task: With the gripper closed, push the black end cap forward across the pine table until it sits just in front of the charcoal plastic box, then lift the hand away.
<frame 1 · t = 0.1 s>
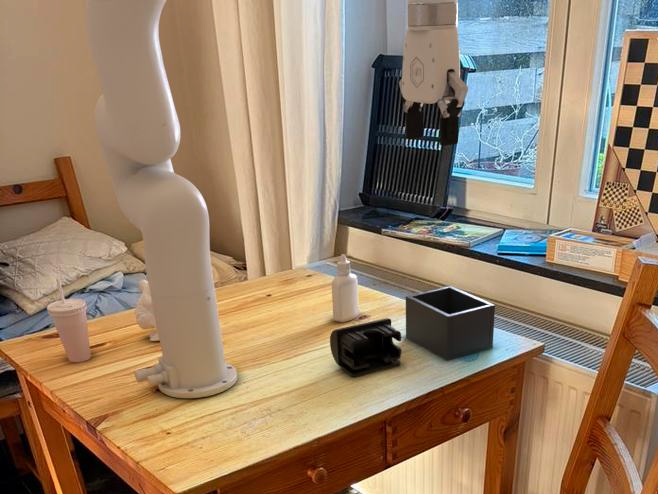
hand: (431, 141, 123), 31 cm above the table, tool pointing down, fingers open, 9 cm apart
box: (448, 342, 131), on the table
end cap: (367, 365, 125), on the table
koala figurine: (161, 338, 139), on the table
smoothie: (80, 359, 132), on the table
eye dropper bottle: (346, 318, 144), on the table
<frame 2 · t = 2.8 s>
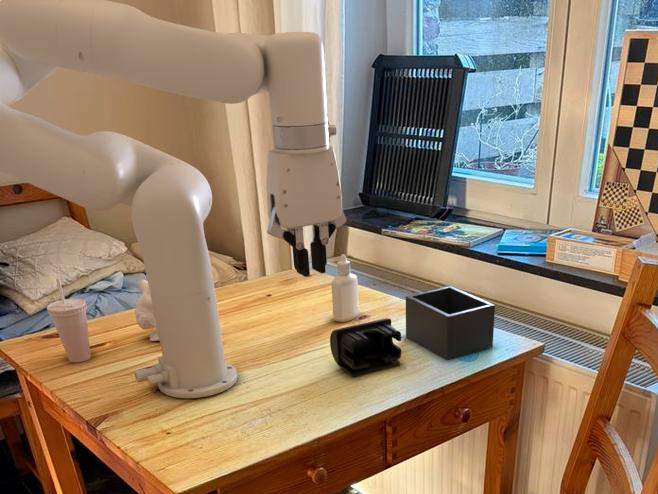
hand: (311, 271, 112), 17 cm above the table, tool pointing down, fingers closed
nothing on the table moved.
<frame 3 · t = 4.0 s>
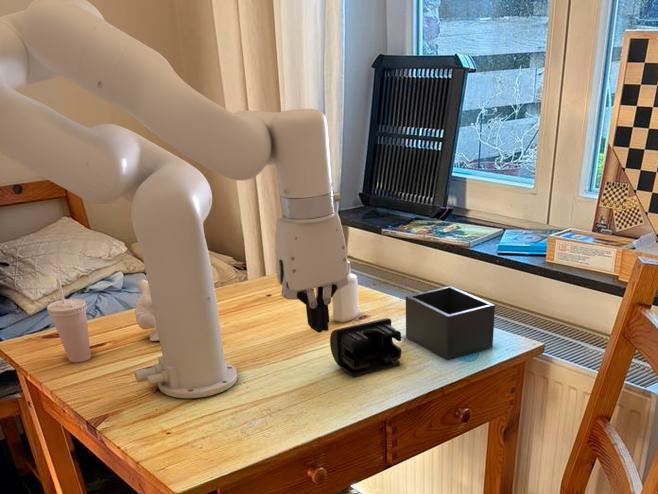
hand: (319, 329, 117), 8 cm above the table, tool pointing down, fingers closed
nothing on the table moved.
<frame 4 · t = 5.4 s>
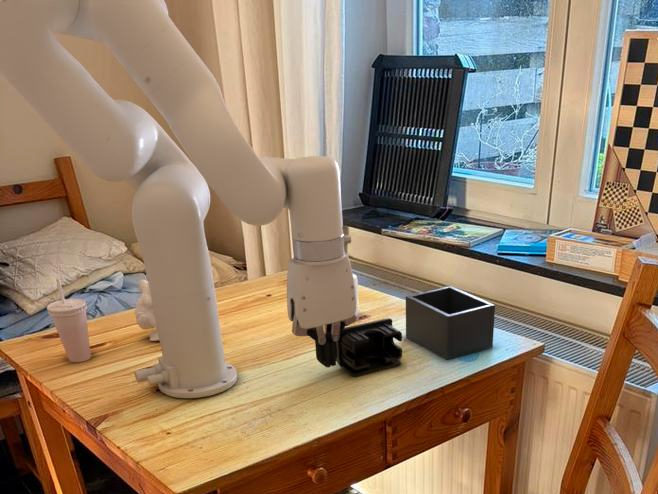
hand: (327, 363, 120), 2 cm above the table, tool pointing down, fingers closed
end cap: (368, 365, 125), on the table, touching gripper
everything else where it was.
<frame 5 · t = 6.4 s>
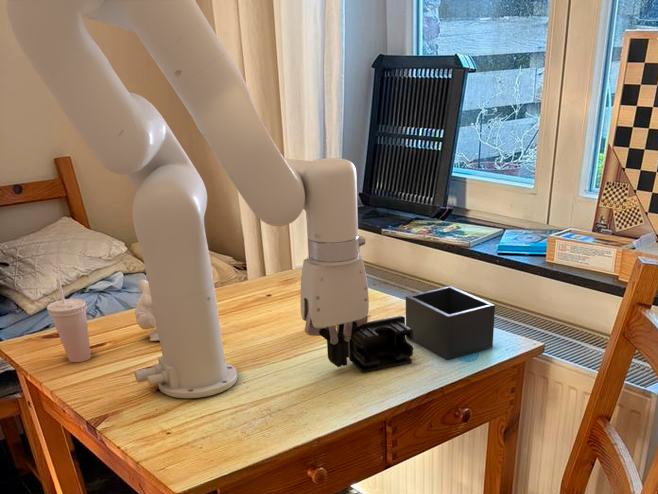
hand: (338, 363, 122), 1 cm above the table, tool pointing down, fingers closed
end cap: (379, 362, 126), on the table, touching gripper
everything else where it was.
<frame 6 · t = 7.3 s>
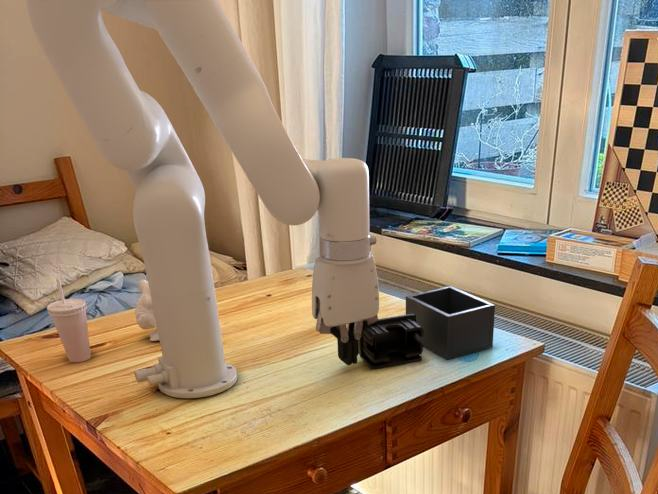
hand: (348, 361, 123), 1 cm above the table, tool pointing down, fingers closed
end cap: (389, 359, 127), on the table, touching gripper
everything else where it was.
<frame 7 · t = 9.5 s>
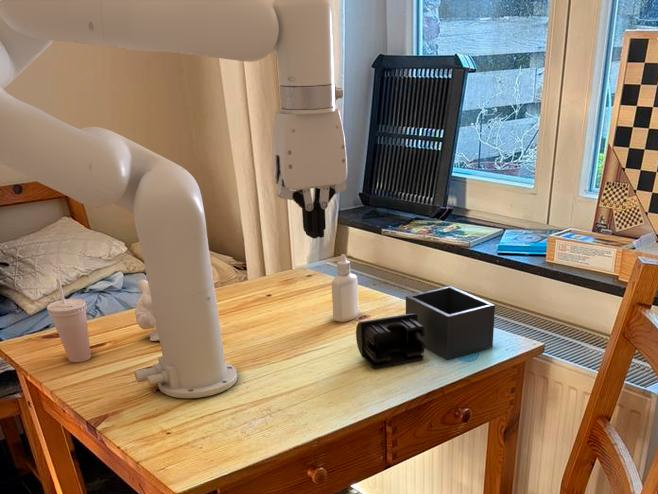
hand: (314, 235, 113), 21 cm above the table, tool pointing down, fingers closed
end cap: (391, 358, 127), on the table
everything else where it was.
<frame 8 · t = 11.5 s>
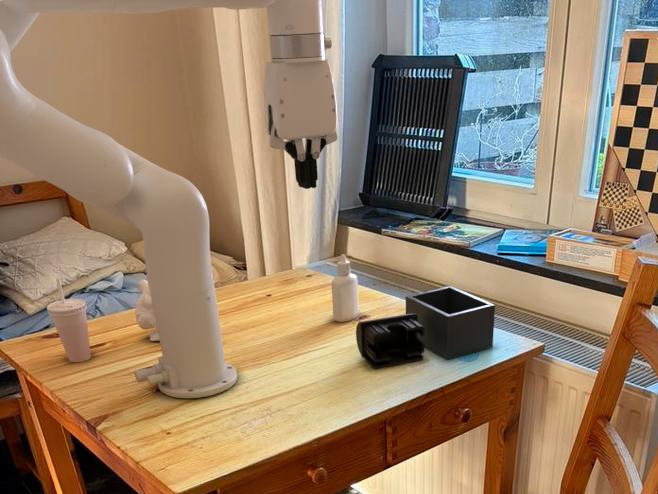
hand: (307, 186, 115), 27 cm above the table, tool pointing down, fingers closed
nothing on the table moved.
at the end: end cap 11.7 cm from the box (horizontally); end cap moved 4.8 cm from its start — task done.
